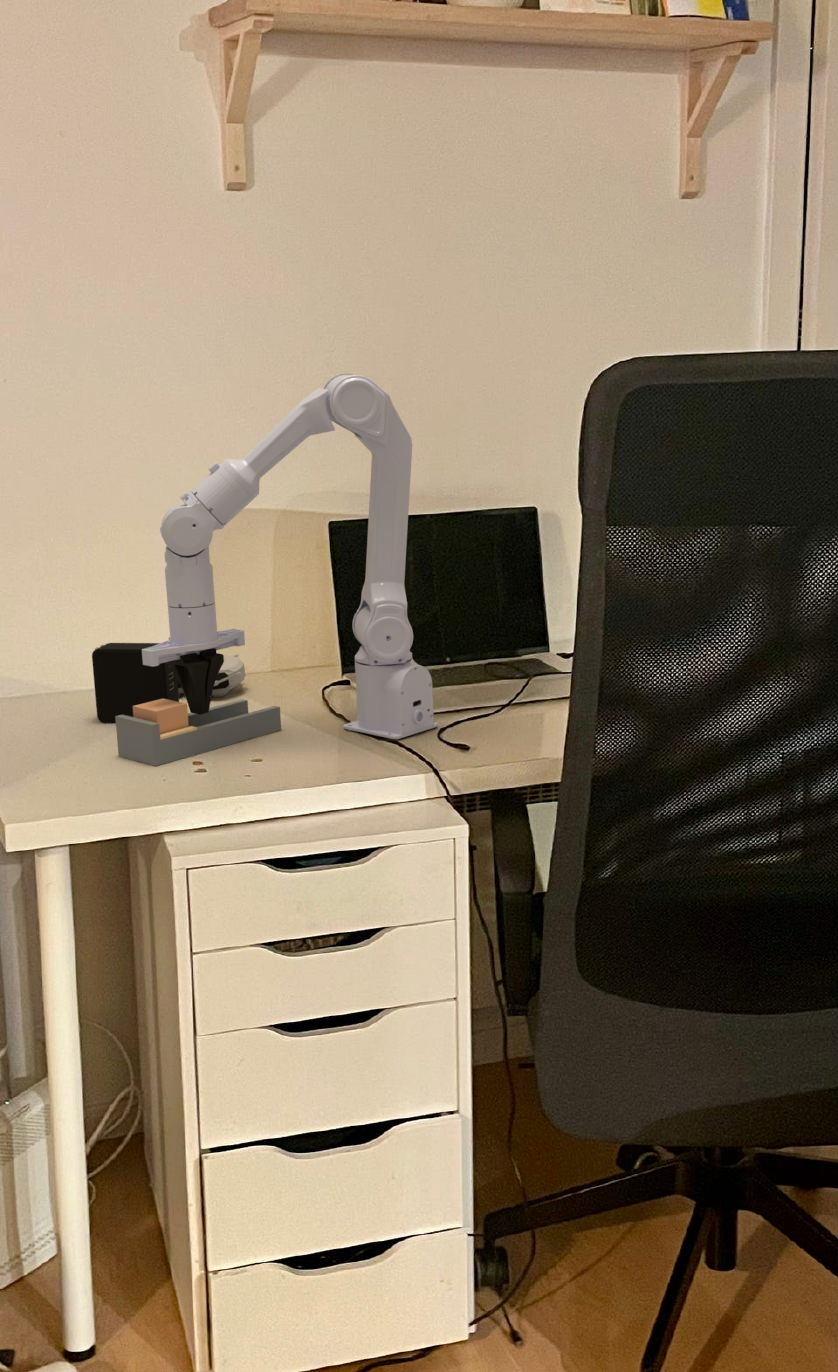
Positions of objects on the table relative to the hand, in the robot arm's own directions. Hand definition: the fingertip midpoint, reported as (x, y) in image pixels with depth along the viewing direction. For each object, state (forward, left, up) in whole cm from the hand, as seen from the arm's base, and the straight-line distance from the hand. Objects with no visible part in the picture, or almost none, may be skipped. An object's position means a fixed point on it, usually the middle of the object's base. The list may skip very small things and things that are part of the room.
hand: (199, 712), depth 187 cm
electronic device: (+16, -3, -4) cm, 17 cm away
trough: (0, -1, -4) cm, 4 cm away
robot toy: (+22, -17, -4) cm, 28 cm away
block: (0, +6, -3) cm, 7 cm away
